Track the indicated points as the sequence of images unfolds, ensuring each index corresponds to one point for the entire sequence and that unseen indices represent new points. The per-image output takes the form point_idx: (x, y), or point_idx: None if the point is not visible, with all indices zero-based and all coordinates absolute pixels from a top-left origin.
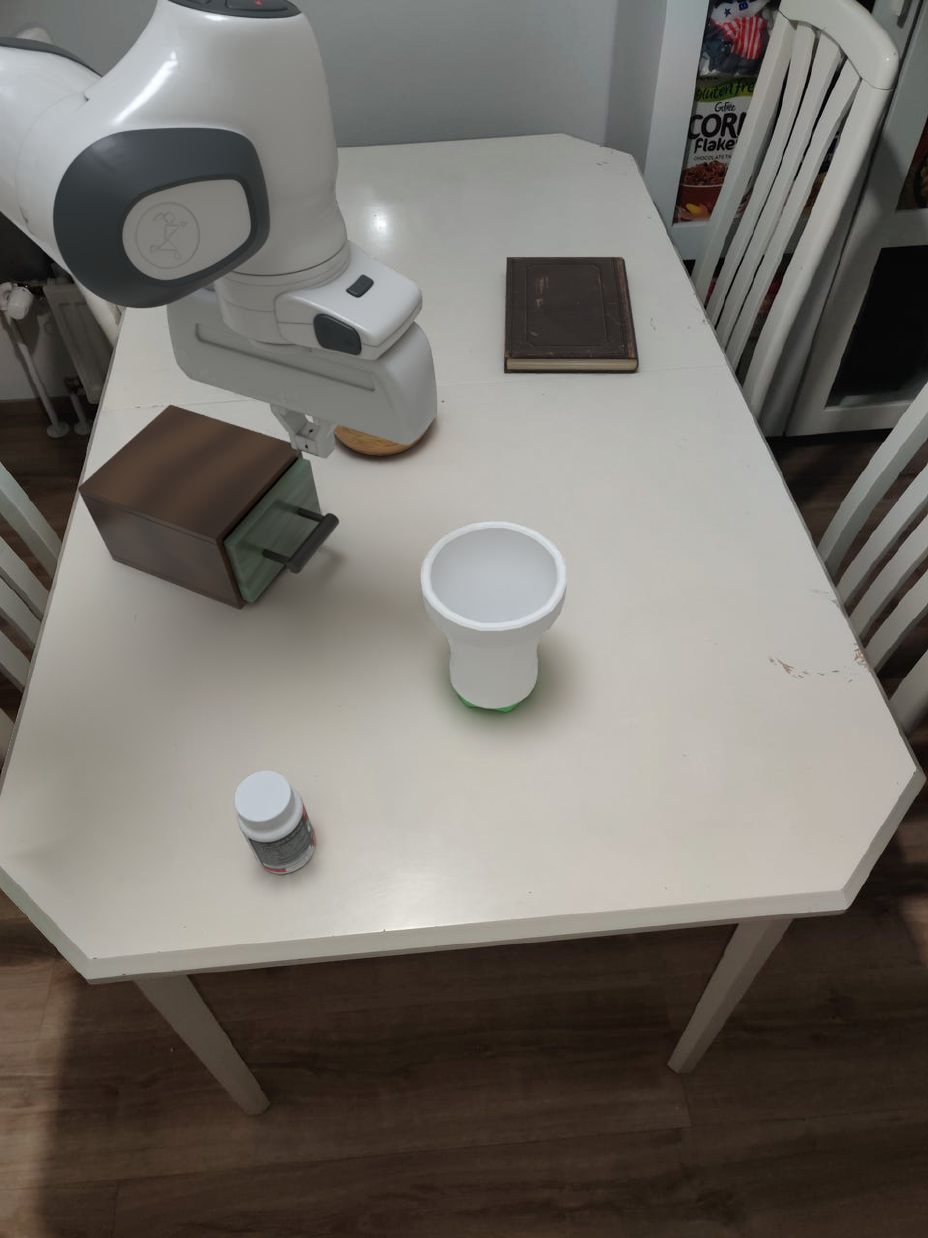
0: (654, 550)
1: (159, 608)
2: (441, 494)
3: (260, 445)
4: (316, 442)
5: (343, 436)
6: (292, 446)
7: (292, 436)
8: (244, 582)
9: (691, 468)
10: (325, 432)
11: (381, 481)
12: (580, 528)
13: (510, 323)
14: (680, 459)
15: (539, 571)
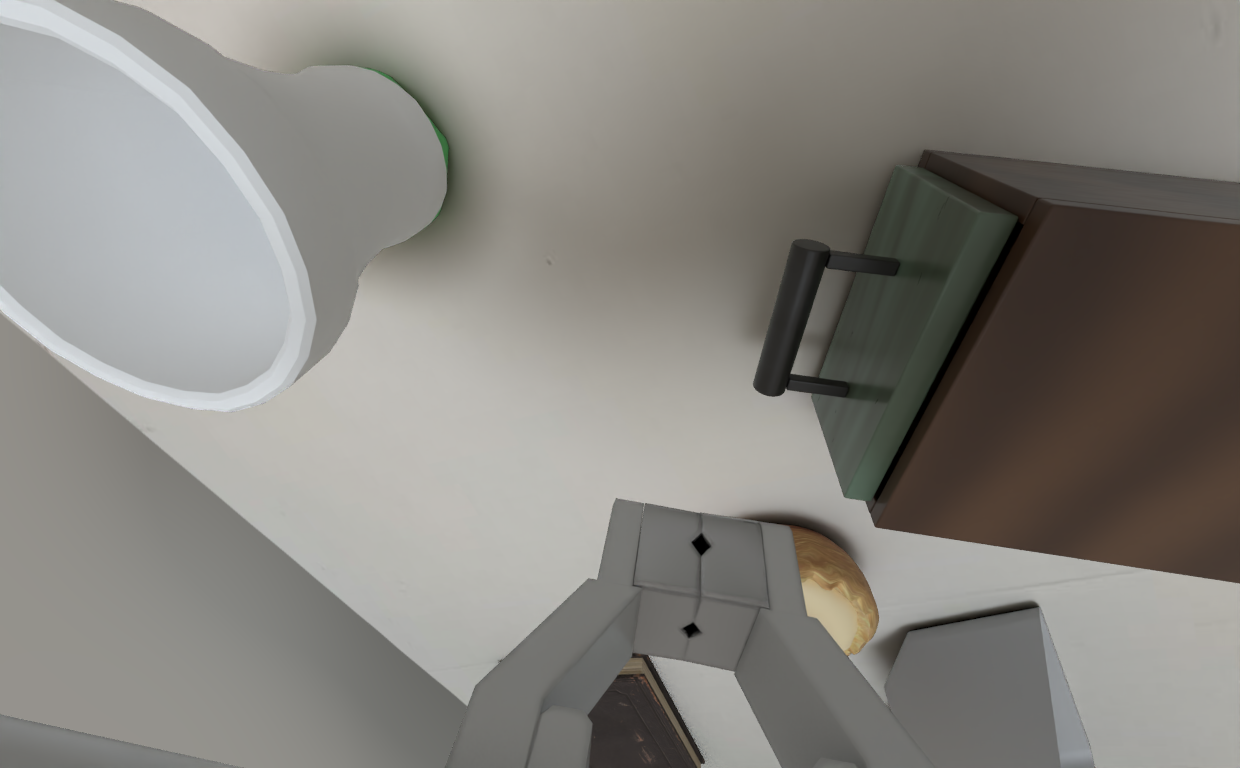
0: (334, 446)
1: (1144, 83)
2: (641, 478)
3: (976, 515)
4: (628, 576)
5: (822, 549)
6: (787, 535)
7: (781, 592)
8: (925, 178)
9: (372, 558)
10: (527, 655)
11: (741, 484)
12: (434, 460)
13: (658, 714)
14: (390, 567)
15: (186, 321)
